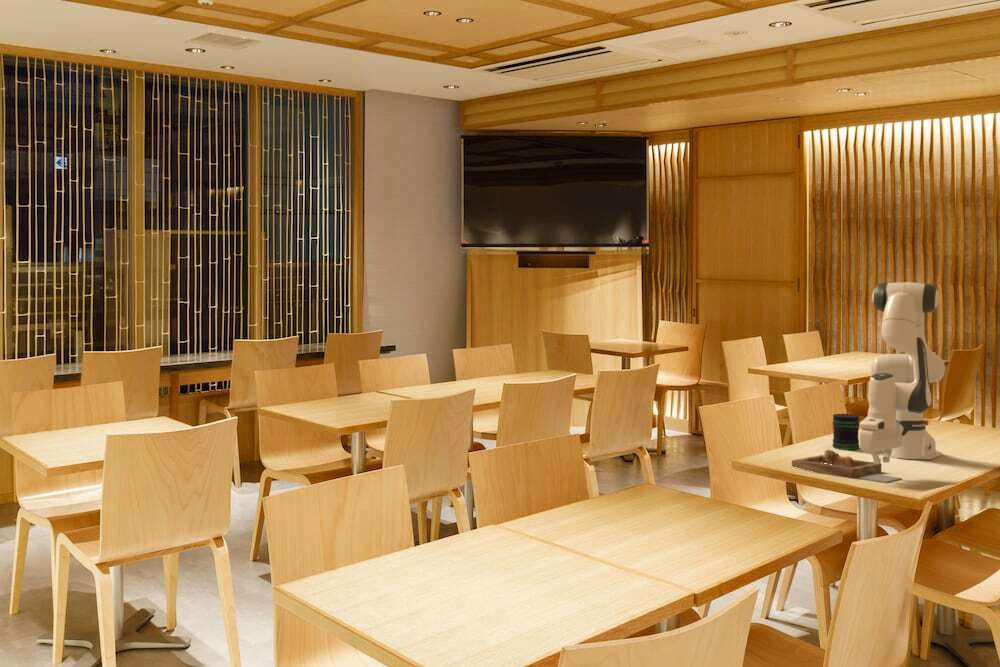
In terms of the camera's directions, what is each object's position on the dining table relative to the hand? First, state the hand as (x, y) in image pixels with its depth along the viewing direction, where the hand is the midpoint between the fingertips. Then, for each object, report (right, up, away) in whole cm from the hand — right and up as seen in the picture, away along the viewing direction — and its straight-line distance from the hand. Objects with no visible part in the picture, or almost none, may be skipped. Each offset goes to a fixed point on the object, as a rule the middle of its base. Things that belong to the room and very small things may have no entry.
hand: (881, 463), depth 321 cm
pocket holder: (-9, -5, +17) cm, 20 cm away
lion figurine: (-8, -5, +16) cm, 19 cm away
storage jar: (+8, -4, +55) cm, 55 cm away
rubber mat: (0, -6, +1) cm, 6 cm away
